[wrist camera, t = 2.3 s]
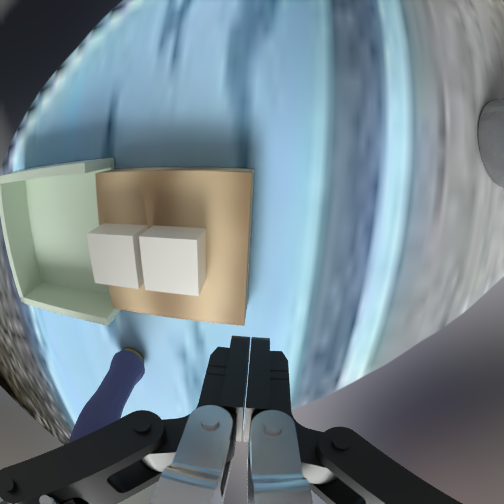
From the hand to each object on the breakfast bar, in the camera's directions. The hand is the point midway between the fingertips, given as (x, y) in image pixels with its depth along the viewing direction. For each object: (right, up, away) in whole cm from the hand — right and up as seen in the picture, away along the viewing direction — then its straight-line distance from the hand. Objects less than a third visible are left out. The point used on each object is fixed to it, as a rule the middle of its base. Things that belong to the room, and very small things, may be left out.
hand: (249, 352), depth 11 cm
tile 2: (-10, +4, +9) cm, 14 cm away
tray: (-18, +6, +13) cm, 23 cm away
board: (-6, +5, +12) cm, 14 cm away
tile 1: (-5, +4, +9) cm, 11 cm away
